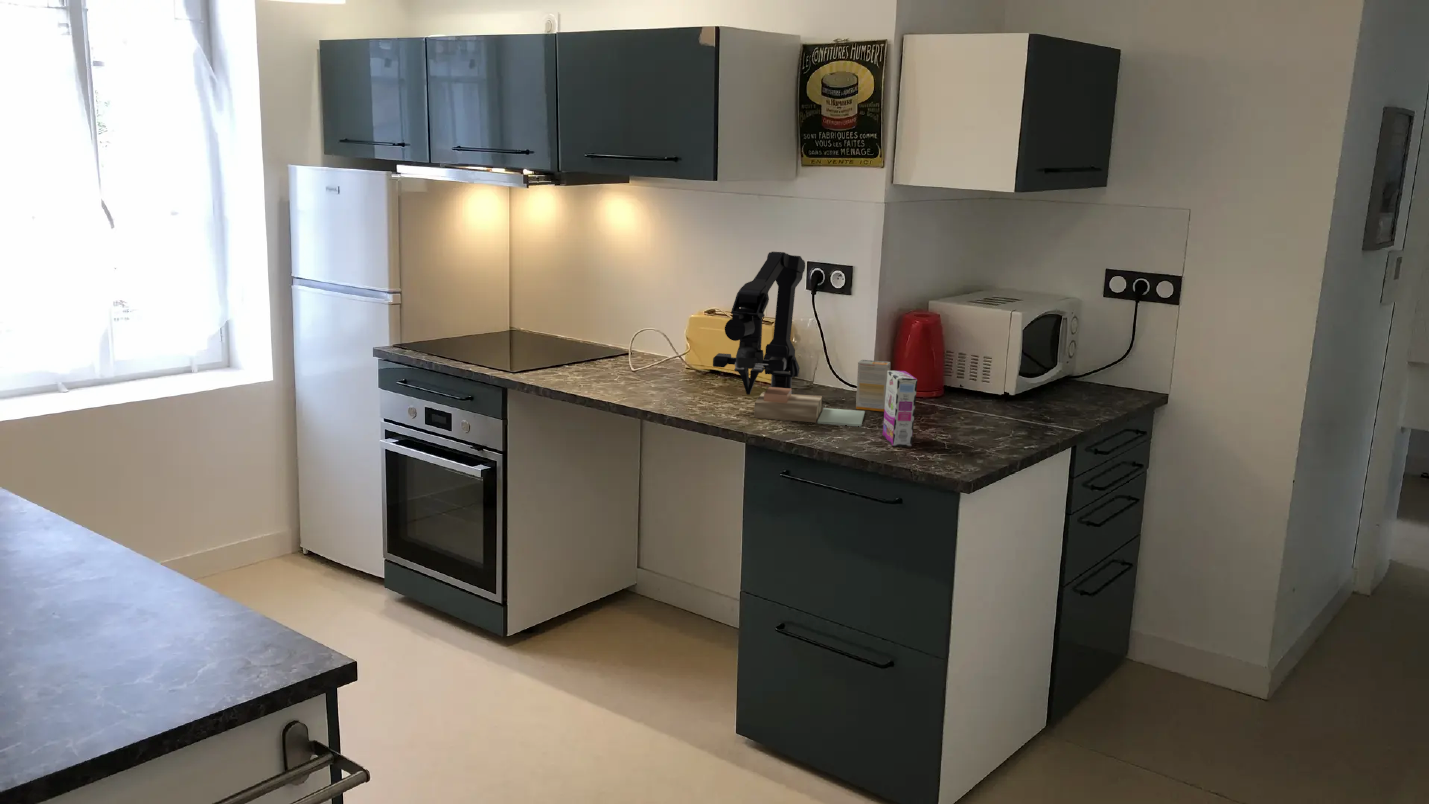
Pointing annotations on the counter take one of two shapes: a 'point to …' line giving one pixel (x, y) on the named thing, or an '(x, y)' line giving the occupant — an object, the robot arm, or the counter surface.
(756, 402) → the board
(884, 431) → the candy bar box
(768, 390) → the tile
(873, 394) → the supplement box
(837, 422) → the mat
